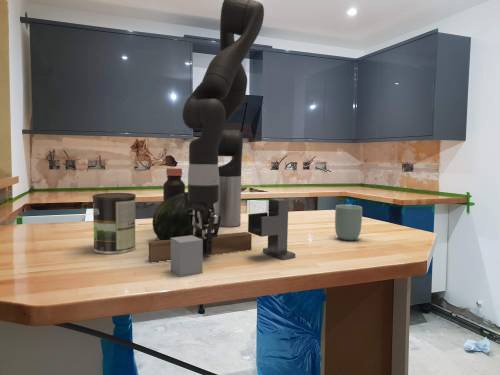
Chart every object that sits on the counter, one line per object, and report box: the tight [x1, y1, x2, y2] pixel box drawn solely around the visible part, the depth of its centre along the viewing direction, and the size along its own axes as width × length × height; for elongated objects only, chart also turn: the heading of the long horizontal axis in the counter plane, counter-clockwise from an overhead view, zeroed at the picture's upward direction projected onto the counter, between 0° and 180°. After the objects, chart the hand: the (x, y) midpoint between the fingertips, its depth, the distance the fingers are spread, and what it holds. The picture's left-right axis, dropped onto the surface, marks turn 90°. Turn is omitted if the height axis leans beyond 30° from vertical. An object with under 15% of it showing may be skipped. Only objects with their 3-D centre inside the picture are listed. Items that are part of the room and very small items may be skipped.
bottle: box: [162, 167, 186, 202], centre depth 117 cm, size 7×7×20 cm
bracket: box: [247, 197, 296, 261], centre depth 89 cm, size 8×10×14 cm
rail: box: [148, 231, 253, 263], centre depth 91 cm, size 3×26×4 cm, turn 120°
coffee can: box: [92, 192, 137, 255], centre depth 94 cm, size 10×10×14 cm
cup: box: [334, 204, 363, 241], centre depth 110 cm, size 8×8×10 cm
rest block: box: [170, 235, 204, 277], centre depth 77 cm, size 5×5×7 cm
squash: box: [152, 191, 195, 241], centre depth 104 cm, size 14×15×15 cm
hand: (203, 251), depth 91 cm, fingers open, 3 cm apart
